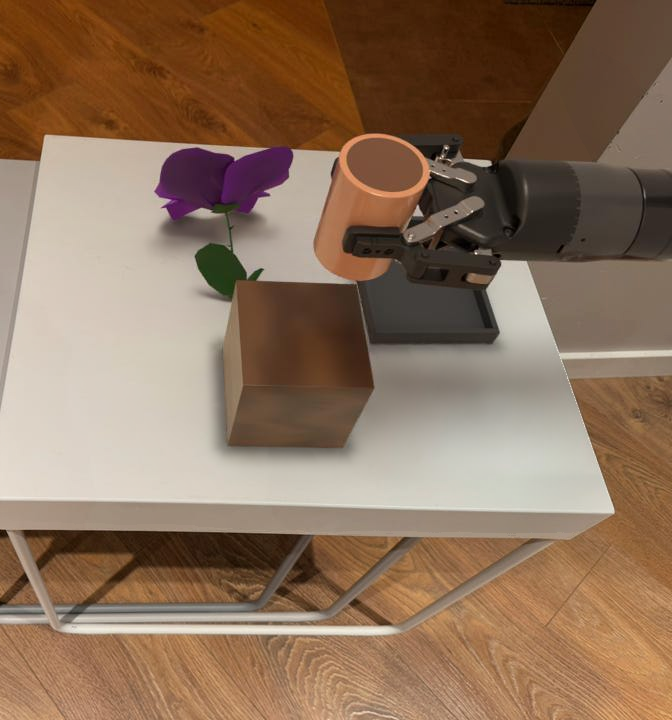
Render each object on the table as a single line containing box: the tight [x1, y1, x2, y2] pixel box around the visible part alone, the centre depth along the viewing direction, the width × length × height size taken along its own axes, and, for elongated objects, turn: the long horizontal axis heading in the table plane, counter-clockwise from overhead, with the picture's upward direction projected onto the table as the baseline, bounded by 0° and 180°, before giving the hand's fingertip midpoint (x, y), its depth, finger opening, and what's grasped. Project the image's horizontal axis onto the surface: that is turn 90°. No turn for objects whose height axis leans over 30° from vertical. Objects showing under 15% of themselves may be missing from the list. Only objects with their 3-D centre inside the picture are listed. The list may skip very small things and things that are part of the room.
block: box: [222, 280, 376, 449], centre depth 71 cm, size 11×11×11 cm
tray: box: [356, 215, 501, 345], centre depth 84 cm, size 16×13×2 cm
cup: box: [312, 133, 430, 282], centre depth 58 cm, size 6×6×9 cm
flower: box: [153, 145, 294, 297], centre depth 80 cm, size 15×15×14 cm
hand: (339, 203), depth 57 cm, fingers closed on cup, 6 cm apart
